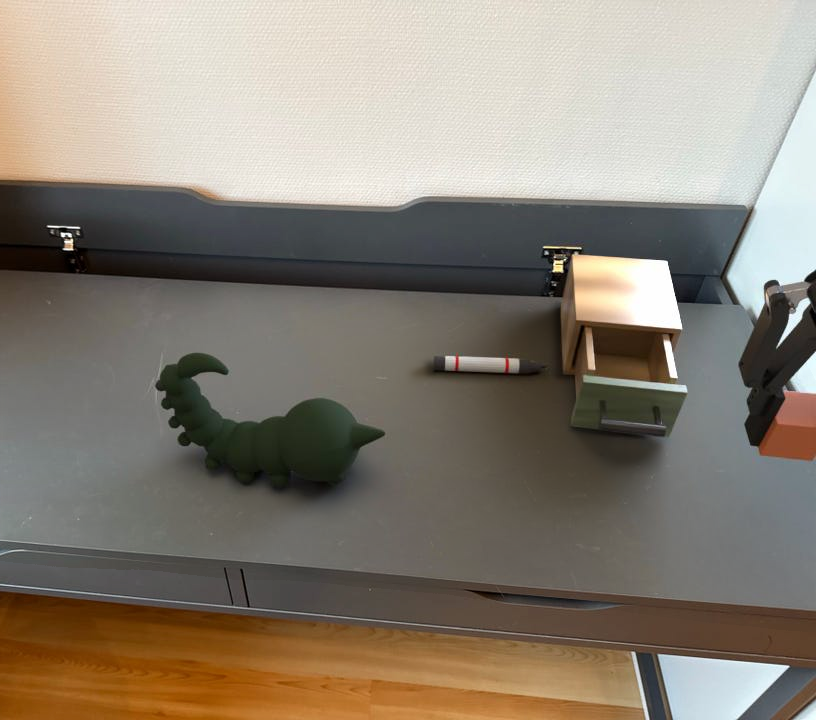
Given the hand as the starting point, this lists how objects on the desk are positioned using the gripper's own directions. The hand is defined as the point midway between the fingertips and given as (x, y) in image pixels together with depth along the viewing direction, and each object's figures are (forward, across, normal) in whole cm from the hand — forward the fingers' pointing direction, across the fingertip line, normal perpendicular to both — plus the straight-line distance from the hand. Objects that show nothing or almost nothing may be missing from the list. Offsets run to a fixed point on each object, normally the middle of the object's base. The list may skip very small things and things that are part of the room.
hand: (781, 437), depth 66 cm
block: (0, 0, 0) cm, 0 cm away
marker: (+16, -26, +22) cm, 37 cm away
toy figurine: (+15, -50, +1) cm, 53 cm away
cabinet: (+16, -10, +30) cm, 35 cm away
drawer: (+15, -10, +17) cm, 24 cm away
